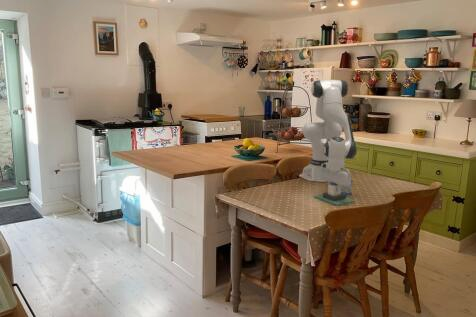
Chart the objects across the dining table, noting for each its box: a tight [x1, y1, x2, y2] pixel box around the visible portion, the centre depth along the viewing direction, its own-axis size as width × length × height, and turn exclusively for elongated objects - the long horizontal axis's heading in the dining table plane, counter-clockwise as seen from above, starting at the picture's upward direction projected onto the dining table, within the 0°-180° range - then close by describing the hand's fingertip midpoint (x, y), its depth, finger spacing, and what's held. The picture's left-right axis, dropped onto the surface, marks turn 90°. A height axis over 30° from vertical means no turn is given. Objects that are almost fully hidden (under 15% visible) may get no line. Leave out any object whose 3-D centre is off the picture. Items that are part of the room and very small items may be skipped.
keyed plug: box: [327, 182, 341, 196], centre depth 220 cm, size 4×6×7 cm, turn 121°
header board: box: [313, 191, 356, 207], centre depth 221 cm, size 18×14×4 cm
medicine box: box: [341, 179, 353, 196], centre depth 233 cm, size 8×4×9 cm, turn 101°
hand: (334, 190), depth 220 cm, fingers closed on keyed plug, 4 cm apart
